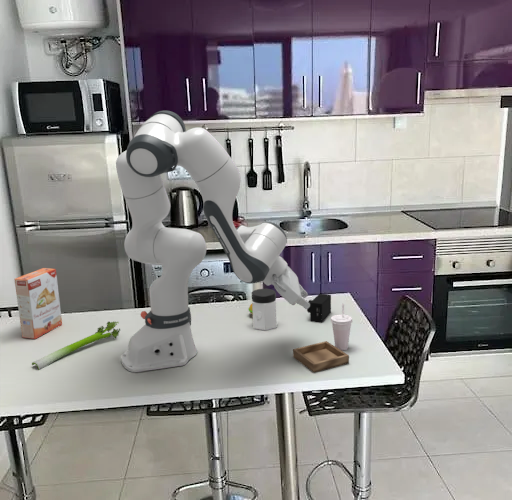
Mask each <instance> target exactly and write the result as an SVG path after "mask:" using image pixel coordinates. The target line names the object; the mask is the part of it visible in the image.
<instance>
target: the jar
mask: <svg viewBox="0 0 512 500" xmlns="http://www.w3.org/2000/svg"><path fill="white" fill-rule="evenodd" d="M276 299H277V291H275V290H274V289H272V288H259V289H255V290H252V292H251V304H252V308H253V315H252V326H253V329H254V330H260V331H269V330H273V329H276V328H277V301H276Z"/></svg>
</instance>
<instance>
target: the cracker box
mask: <svg viewBox="0 0 512 500" xmlns="http://www.w3.org/2000/svg"><path fill="white" fill-rule="evenodd" d="M13 281H14V286H15V293H16V300H17V308H18V314H19V315H18V316H19V323H20V329H21V336H22V338H23V339H31V340H36V339H38V338H40V337H42V336H44V335H46V334H48V333H50V332H51V331H53V330H55V329H56V327H57V328H58V326H59V327H60V326H62V325H63V320H62V312H61V310H62V309H61V302H60V301H61V300H60V294H59V285H58V276H57V269H56V268H51V267H50V268H49V267H42V268H39V269H37V270H35V271H32V272H29V273H26V274H23V275H20V276H19V277H16V278H14V280H13ZM54 328H55V329H54ZM45 333H46V334H45ZM43 334H44V335H43Z"/></svg>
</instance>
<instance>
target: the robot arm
mask: <svg viewBox="0 0 512 500" xmlns="http://www.w3.org/2000/svg"><path fill="white" fill-rule="evenodd" d="M178 166H180V167H181V168H183V169H184V170H185V171H186V172H187V173H188V174H189V176H190V178H192V180H193V182H194V183H195V184H196V185H197V188H198V189H199V192H200V194H201V197H202V201H203V209H202V210H203V214H204V216H205V218H206V221H207V222H208V224H209V226H210V228H211V230H212V231H213V234H214V235H215V237H216V239H217V240H218V242H219V244H220V245H221V247H222V249H223V251H224V253H225V254H226V256H227V259H228V260H229V263H230V266H231V269H232V272H233V274H234V275H235V277H236V278H238V279H239V280H240V282H241V281H242V282H243V283H245V284H257V283H261V282H262V283H263V284H265V285H266V286H270V285H272V286H274V289H275V290H276V291H275V292H276V293H278V294H279V295H280V296H281V297H282V298H283V299H284V300H285V301H286V302H287V303H288V304H289V305H291V306H295V305H296V304H297V305H299V306H302V308H304V309H305V310H307V309H308V308H309V307H310V303H309V302H308V301H309V300H307V299H306V298H307V297H308V296H309V295H308V294H309V293H308V292H307V290H305V289H304V288H303V286H302V285H301V284H300V282H299V277H298V276H297V274H296V273H295V272H294V271H293V269H292V268H291V267H290V266H288V263H287V261H286V260H285V259H284V258H283V257H282V256H281V254H282V252H283V250H284V249H285V248H286V246H287V243H288V238H287V234H286V232H285V231H284V230H283V228H282V227H281V226H279V225H278V224H277V223H275V222H270V221H265V222H262V223H260V224H258V225H255V226H246V225H239V226H238V227H237V228H236V226H235V224H234V221H233V212H234V211H233V210H234V206H235V201H236V198H237V196H238V195H239V194H238V193H239V191H240V187H241V173H240V171H239V168H238V166H237V164H236V163H235V161H234V160H233V158H232V157H231V156H230V155H229V153H228V152H227V150H226V149H225V148H224V147H223V145H222V144H221V143H220V142H219V141H218V140H217V139H216V138H215V136H214V135H212V134H211V133H210V132H209V131H208V130H207V129H205V128H204V127H199V126H198V127H197V126H196V127H192V128H189V129H188V130H186V124H185V122H184V121H183V119H182V118H181V116H179V114H177V113H176V112H173V111H170V110H159V111H157V112H155V113H153V114H152V115H150V116H149V117H148V119H147V120H145V122H143V123H142V125H140V127H139V128H138V130H137V131H136V133H135V135H134V136H133V138H131V139H130V141H129V142H128V145H127V148H126V150H125V151H123V152H122V153H120V154H119V155H118V157H117V158H116V161H115V167H116V175H117V179H118V182H119V185H120V189H121V192H122V195H123V197H124V200H125V202H126V205H127V208H128V211H129V213H130V217H131V222H132V226H131V229H130V230H129V231H128V233H127V234H126V236H125V238H124V241H123V243H124V244H123V245H124V246H123V247H124V251H125V254H126V256H127V257H128V258H129V259H131V260H133V261H135V262H139V263H142V264H147V265H156V266H157V265H158V266H161V267H162V269H161V270H162V272H161V276H159V277H157V278H156V279H154V280H153V281H152V282H151V284H150V286H149V288H148V289H149V290H148V291H149V303H150V310H149V312H148V313H147V311H146V310H143V311H141V313H140V317H141V318H142V319H143V320H144V323H145V324H144V325H143V326H142V327H141V328H139V330H137V332H135V333H134V334H133V335H131V336H130V338H129V340H128V346H127V349H128V350H126V351H124V352H123V353H122V354H121V357H120V362H121V364H122V366H123V368H125V370H127V371H129V372H132V373H140V372H148V371H153V370H154V371H155V370H159V369H166V368H168V369H169V368H174V367H175V368H176V367H180V366H185V365H187V363H188V362H189V360H191V359H192V358H194V357H195V356H196V355H197V353H198V349H197V347H196V344H195V340H194V336H193V333H192V327H191V325H192V313H191V308H190V307H189V280H190V277H191V275H192V273H193V271H194V269H196V267H198V266H199V265H200V264H201V263H202V262H203V260H204V259H205V257H206V254H207V242H206V240H205V237H204V236H203V234H201V232H198V231H194V230H191V229H187V228H179V227H166V226H165V225H164V224H163V222H162V221H163V220H164V219H166V218H167V217H168V215H169V213H170V211H171V207H172V206H171V201H170V198H169V196H168V193H167V190H166V187H165V184H164V181H163V179H162V175H163V174H166V173H171V172H174V171H175V170H176V169H177V167H178Z"/></svg>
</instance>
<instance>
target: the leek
mask: <svg viewBox="0 0 512 500" xmlns="http://www.w3.org/2000/svg"><path fill="white" fill-rule="evenodd" d="M119 323H120V322H119V321H115V320H114V321H107V323H106V326H105V327H104V325H101V326H99V327H97V331H96V332H95V333H93V334H92V335H89V336H87V337H84V338H82V339H79V340H77V341H76V342H73V343H71V344H69V345H67V346H64V347H62V348H60V349H58V350H56V351H53V352H51V353H49V354H47V355H45V356H43V357H41V358H39V359H36V360H35V361H33V362H31V366H34V365H35V366H36V367H37V370H38V371H40V370H42V369H43V368H46V367H47V366H49V365H51V364H53V363H54V362H55V361H58V360H59V359H61V358H63V357H65V356H67V355H68V354H71V353H72V352H74V351H76V350H78V349H81V348H83V347H85V346H87V345H89V344H92V343H95V342H97V341H99V340H103V339H107V338H110V337H113V338H115V339H117V337H119V335H120V331H121V328H117V329H115V328H116V326H118V324H119Z"/></svg>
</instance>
